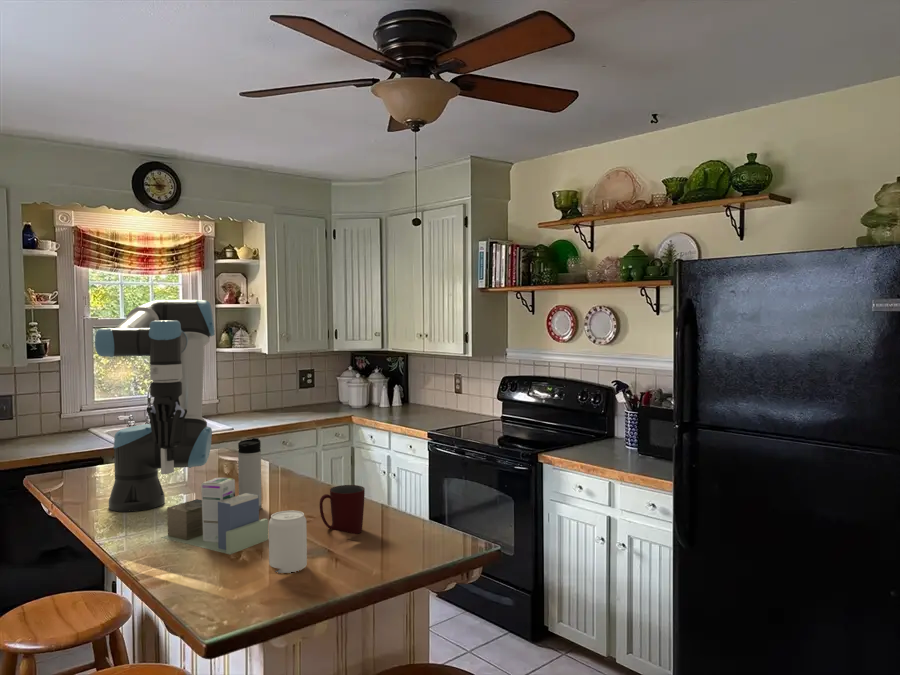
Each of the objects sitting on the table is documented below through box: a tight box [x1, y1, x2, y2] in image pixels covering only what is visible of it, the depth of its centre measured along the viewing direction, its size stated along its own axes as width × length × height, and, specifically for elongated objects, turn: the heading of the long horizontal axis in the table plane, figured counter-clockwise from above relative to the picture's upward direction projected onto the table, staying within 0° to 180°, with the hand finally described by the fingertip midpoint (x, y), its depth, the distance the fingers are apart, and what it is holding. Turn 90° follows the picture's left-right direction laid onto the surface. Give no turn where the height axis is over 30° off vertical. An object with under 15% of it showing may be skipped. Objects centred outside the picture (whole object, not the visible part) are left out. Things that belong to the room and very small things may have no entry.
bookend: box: [166, 499, 203, 540], centre depth 176 cm, size 7×9×7 cm
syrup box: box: [200, 477, 236, 543], centre depth 171 cm, size 6×6×14 cm
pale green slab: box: [160, 518, 269, 555], centre depth 172 cm, size 24×12×6 cm, turn 59°
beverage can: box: [268, 510, 308, 574], centre depth 155 cm, size 8×8×12 cm
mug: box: [319, 484, 366, 535], centre depth 181 cm, size 12×9×11 cm
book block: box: [218, 493, 260, 550], centre depth 167 cm, size 4×9×11 cm, turn 149°
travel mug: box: [237, 437, 263, 510], centre depth 203 cm, size 6×7×20 cm
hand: (167, 473), depth 180 cm, fingers closed
